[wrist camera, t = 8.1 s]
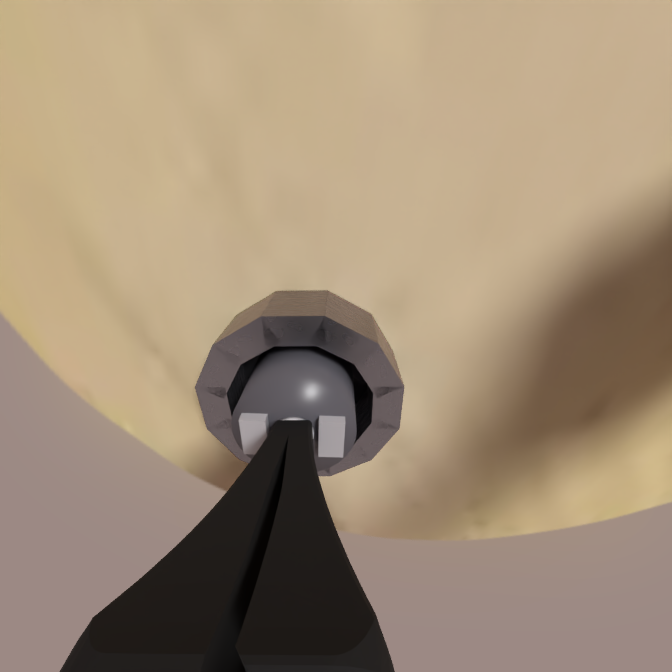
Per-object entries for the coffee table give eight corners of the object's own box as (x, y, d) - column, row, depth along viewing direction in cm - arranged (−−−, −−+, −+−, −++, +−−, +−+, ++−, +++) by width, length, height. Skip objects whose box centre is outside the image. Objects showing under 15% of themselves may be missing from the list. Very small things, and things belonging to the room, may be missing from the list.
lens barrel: (398, 289, 14) (412, 315, 11) (385, 432, 18) (393, 476, 15) (206, 291, 14) (174, 317, 11) (238, 432, 18) (220, 475, 15)
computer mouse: (355, 333, 14) (361, 389, 10) (349, 413, 16) (353, 484, 12) (252, 329, 14) (218, 384, 10) (260, 410, 16) (235, 480, 12)
